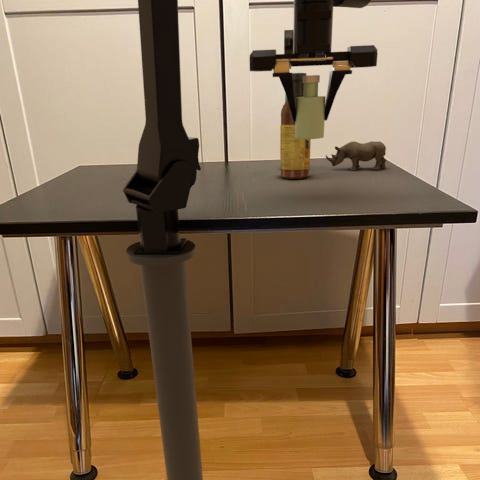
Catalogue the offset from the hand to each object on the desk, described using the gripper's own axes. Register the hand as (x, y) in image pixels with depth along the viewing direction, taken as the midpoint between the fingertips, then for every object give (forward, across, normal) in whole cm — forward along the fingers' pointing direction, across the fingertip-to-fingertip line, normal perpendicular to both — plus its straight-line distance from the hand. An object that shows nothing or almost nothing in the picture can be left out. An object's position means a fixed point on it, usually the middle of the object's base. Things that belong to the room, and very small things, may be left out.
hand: (310, 120), depth 77 cm
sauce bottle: (+13, +2, -23) cm, 26 cm away
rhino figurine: (+13, -12, -32) cm, 36 cm away
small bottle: (+2, 0, 0) cm, 2 cm away
